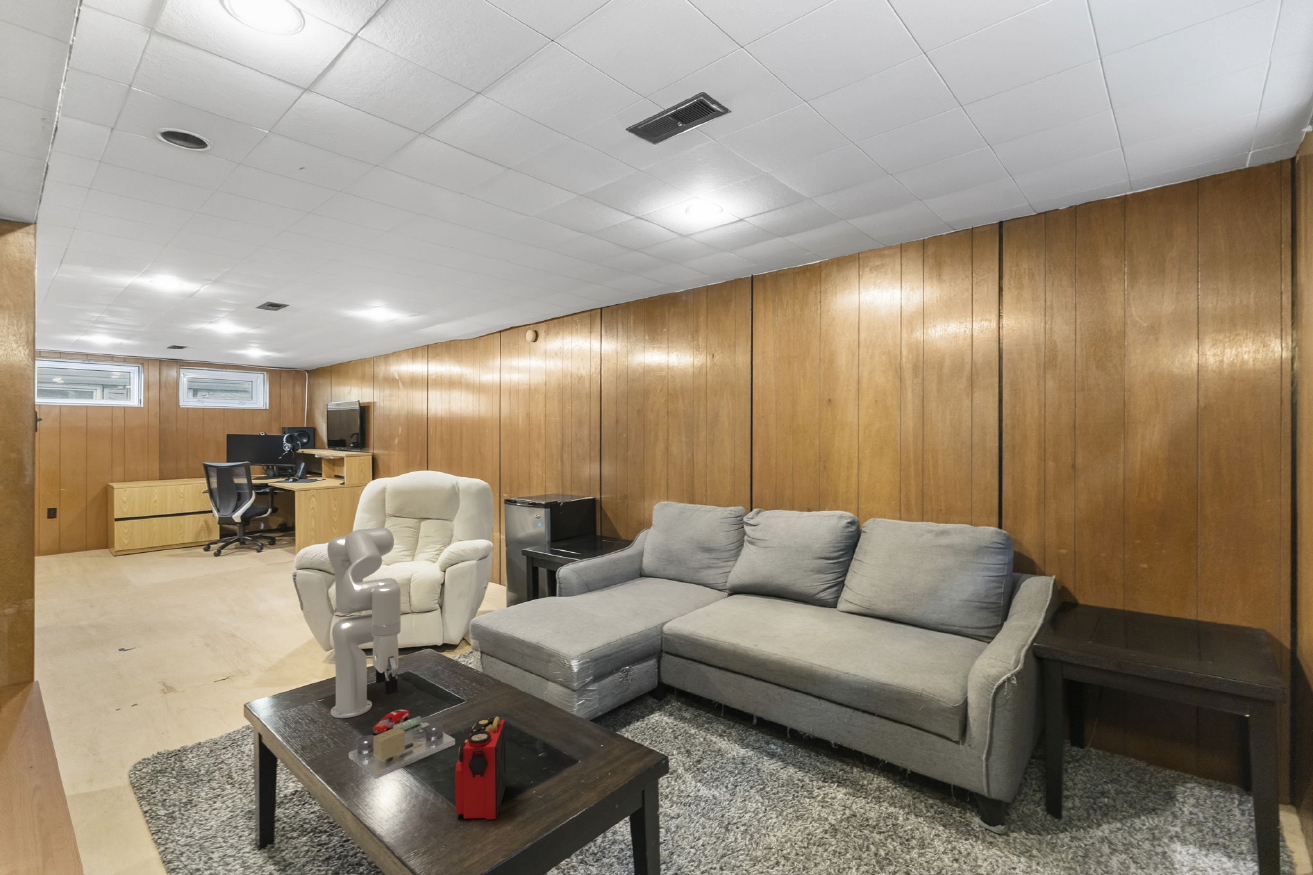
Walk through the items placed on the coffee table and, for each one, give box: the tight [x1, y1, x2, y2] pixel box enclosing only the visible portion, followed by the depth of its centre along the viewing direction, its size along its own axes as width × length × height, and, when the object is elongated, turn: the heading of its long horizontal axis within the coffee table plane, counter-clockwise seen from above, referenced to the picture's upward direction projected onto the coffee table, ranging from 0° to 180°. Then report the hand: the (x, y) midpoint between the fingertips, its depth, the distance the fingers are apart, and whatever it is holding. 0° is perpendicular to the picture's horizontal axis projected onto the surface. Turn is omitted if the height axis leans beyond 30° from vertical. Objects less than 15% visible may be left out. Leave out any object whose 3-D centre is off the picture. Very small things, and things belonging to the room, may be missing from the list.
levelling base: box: [348, 715, 456, 779], centre depth 180 cm, size 17×24×6 cm
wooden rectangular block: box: [373, 727, 413, 761], centre depth 174 cm, size 10×4×7 cm, turn 142°
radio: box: [454, 716, 507, 820], centre depth 153 cm, size 16×10×20 cm, turn 5°
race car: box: [372, 709, 411, 735], centre depth 195 cm, size 13×5×4 cm, turn 160°
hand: (386, 687), depth 174 cm, fingers open, 9 cm apart
